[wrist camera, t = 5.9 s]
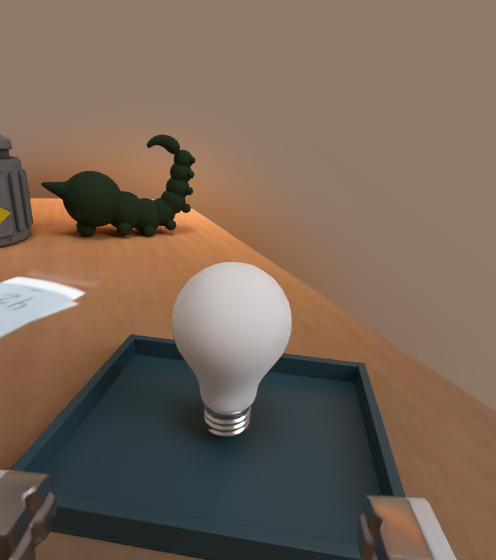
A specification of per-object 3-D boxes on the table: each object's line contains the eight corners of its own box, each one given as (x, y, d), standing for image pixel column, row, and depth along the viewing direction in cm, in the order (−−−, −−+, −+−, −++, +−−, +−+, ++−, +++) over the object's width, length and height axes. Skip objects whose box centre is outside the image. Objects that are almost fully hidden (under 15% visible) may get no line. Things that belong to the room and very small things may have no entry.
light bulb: (204, 494, 19) (210, 298, 15) (156, 416, 24) (152, 254, 20) (300, 444, 23) (325, 275, 19) (241, 385, 28) (251, 243, 24)
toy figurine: (179, 234, 78) (43, 227, 66) (187, 139, 72) (41, 114, 61) (192, 246, 70) (41, 240, 58) (203, 140, 64) (37, 112, 53)
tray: (-6, 520, 17) (-13, 493, 17) (131, 351, 31) (130, 334, 31) (419, 598, 15) (428, 571, 15) (361, 381, 30) (364, 363, 29)
